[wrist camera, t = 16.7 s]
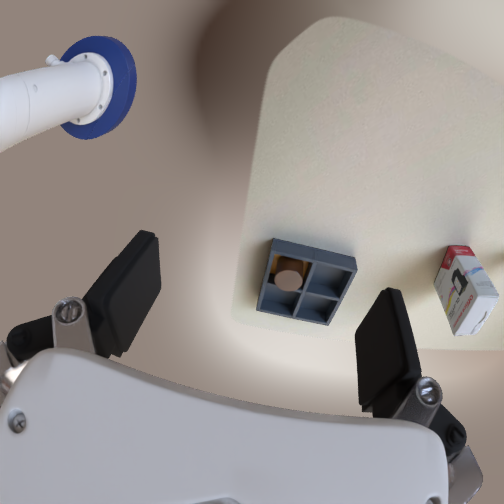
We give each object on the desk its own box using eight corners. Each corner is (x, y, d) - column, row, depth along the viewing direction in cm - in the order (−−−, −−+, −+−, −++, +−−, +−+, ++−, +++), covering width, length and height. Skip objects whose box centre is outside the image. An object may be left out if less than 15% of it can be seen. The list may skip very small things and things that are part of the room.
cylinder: (271, 261, 43) (268, 279, 39) (291, 248, 40) (290, 265, 37) (288, 278, 44) (286, 295, 41) (308, 265, 42) (308, 283, 39)
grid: (258, 298, 48) (255, 310, 46) (273, 237, 41) (271, 249, 38) (328, 313, 48) (328, 325, 46) (355, 257, 40) (357, 270, 38)
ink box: (448, 244, 36) (478, 295, 26) (470, 246, 35) (501, 295, 25) (432, 285, 41) (452, 338, 31) (453, 285, 40) (475, 336, 30)
